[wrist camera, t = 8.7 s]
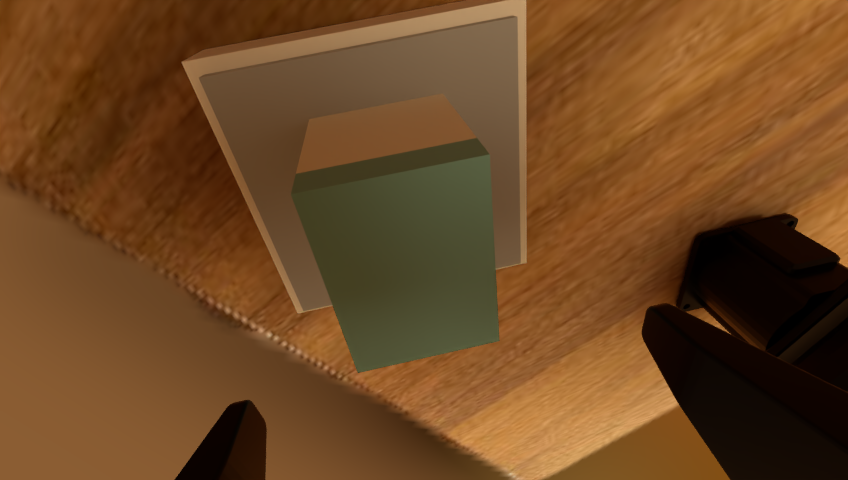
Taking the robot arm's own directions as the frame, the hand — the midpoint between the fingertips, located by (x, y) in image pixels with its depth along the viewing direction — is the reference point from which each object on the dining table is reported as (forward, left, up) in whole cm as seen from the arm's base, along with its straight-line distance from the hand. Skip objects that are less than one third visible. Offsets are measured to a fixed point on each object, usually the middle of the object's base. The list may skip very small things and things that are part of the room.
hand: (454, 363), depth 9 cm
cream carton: (0, +1, -9) cm, 9 cm away
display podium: (0, +1, -12) cm, 12 cm away
